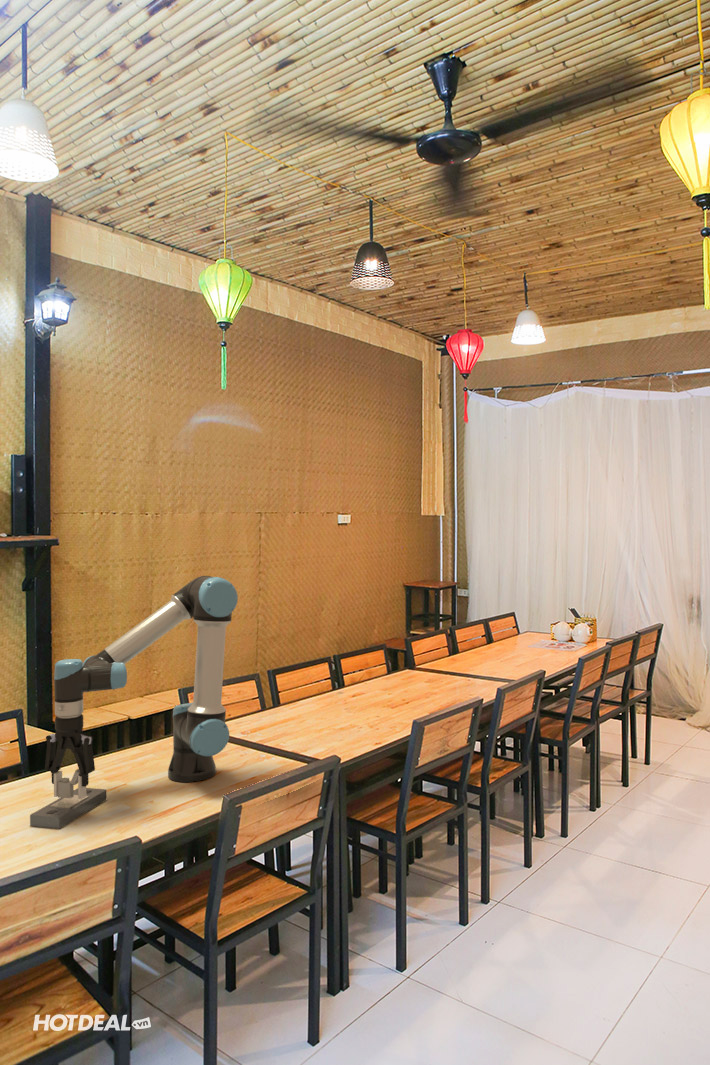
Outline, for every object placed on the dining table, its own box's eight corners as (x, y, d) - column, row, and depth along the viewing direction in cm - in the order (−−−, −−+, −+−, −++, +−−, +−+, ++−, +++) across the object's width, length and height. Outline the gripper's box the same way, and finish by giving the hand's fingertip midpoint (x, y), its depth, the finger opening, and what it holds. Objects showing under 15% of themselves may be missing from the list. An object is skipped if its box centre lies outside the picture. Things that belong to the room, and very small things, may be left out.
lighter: (57, 797, 209) (56, 769, 209) (61, 795, 211) (60, 767, 211) (79, 799, 207) (79, 770, 207) (83, 797, 209) (82, 768, 209)
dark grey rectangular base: (106, 799, 218) (106, 788, 218) (59, 828, 197) (59, 816, 197) (79, 797, 221) (79, 786, 221) (30, 825, 199) (30, 814, 199)
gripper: (29, 716, 208) (30, 798, 208) (92, 720, 203) (93, 803, 203) (47, 710, 215) (48, 789, 215) (108, 713, 210) (109, 794, 210)
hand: (70, 796), depth 209 cm, fingers closed on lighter, 7 cm apart
